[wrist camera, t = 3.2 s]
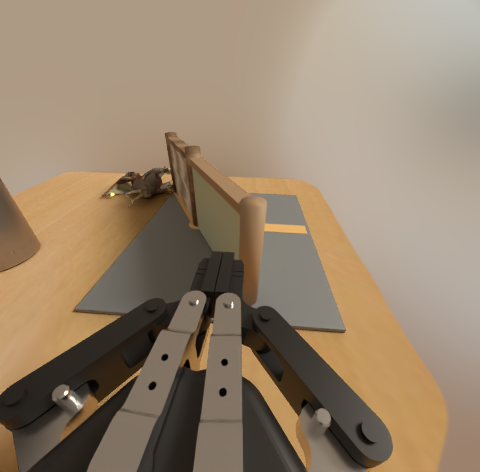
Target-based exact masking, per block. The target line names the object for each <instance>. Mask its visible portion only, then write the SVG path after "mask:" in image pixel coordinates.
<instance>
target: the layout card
mask: <svg viewBox="0 0 480 472" xmlns="http://www.w3.org/2000/svg"><path fill="white" fill-rule="evenodd" d="M249 194H250V195H251V196H257V197H261V198H264V199H265V200H266V201H267V210H266V219H265V229H264V238H263V248H262V257H261V267H260V276H259V286H258V296H257V301H256V303H255V304H253V305H251V307H253V308H256V309H257V308H258V307H260V306H269V307H272V308H274V309H275V310H276V311H277V312H278V313H279V314H280V315H281V316H282V317H283V318H284V319H285V320H286V321H287V322H288V323H289V324H290V325H291V326H292V328H293V329H305V330H318V331H331V332H344V333H345V331H346V329H345V326H344V323H343V321H342V318H341V315H340V313H339V310H338V307H337V304H336V302H335V299H334V296H333V294H332V291H331V288H330V285H329V283H328V280H327V277H326V275H325V272H324V269H323V267H322V264H321V261H320V258H319V256H318V253H317V250H316V248H315V245H314V242H313V239H312V237H311V234H310V231H309V229H308V226H307V223H306V220H305V218H304V215H303V212H302V210H301V207H300V204H299V202H298V199H297V196H296V195H278V194H258V193H249ZM211 254H212V250H211V248H210V246H209V245H208V243H207V241H206V240H205V238H204V236H203V235H202V233H201V231H200V230H199V228H198V227H196V226H194V225H193V218H192V216H191V214H190V213H189V211H188V209H187V208H186V206H185V204H184V203H183V201H182V199H181V198H180V196H179V195H178V193H175V192H174V191H173V193H172V195H171V196H170V197H169V198H168V199H167V201H166V202H165V203H164V204H163V205H162V206H161V208H160V209H159V210H158V211H157V212H156V214H155V215H154V216H153V217H152V218H151V219H150V221H149V222H148V223H147V224H146V225H145V227H144V228H143V229H142V230H141V231H140V232H139V234H138V235H137V236H136V237H135V238H134V240H133V241H132V242H131V243H130V244H129V245H128V247H127V248H126V249H125V250H124V251H123V253H122V254H121V255H120V256H119V257H118V258H117V260H116V261H115V262H114V263H113V264H112V266H111V267H110V268H109V269H108V270H107V271H106V273H105V274H104V275H103V276H102V277H101V279H100V280H99V281H98V282H97V283H96V284H95V286H94V287H93V288H92V289H91V290H90V292H89V293H88V294H87V295H86V296H85V297H84V299H83V300H82V301H81V302H80V303H79V305H78V306H77V307H76V308H75V310H76V311H77V312H88V313H101V314H113V315H125V314H126V313H128V312H130V311H131V310H133V309H134V308H136V307H138V306H139V305H141V304H142V303H144V302H146V301H147V300H150V299H153V298H161V299H163V300H164V301H165V302H166V303H171V302H176V301H179V300H181V299H182V297H183V296H184V295H185V294H186V293H188V292H189V291H190V288H191V285H192V282H193V280H194V277H195V274H196V271H197V268H198V265H199V263H200V262H201V261H202V260H203V259H204V258H210V257H211ZM210 322H214V318H211V321H210Z"/></svg>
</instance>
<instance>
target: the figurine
mask: <svg viewBox="0 0 480 472" xmlns="http://www.w3.org/2000/svg"><path fill="white" fill-rule="evenodd" d="M164 173H167V174H169V173H170V174H171V170H170V168H166V167H164V168H154V169H152V170H150V171H148V172H147V173H145V174H144V175H143V176H140V174H139V173H138V174H135V173H134V172H128V173H126V175H125V176H123V177H122V178H121V179H119V180H118V181H117V182H116V183H115V184H114V185H113V186H112V187H111V188H110V189H109V190H108V191H107V192H106V193H105V194H104V195H102V197H103V196H106V195H111V196H114V195H120V194H123V193H126V194H125V195H126V196H127V194H132V193H136V194H137V195H138V196H137V197H136V198H134V199H133V200H131V199H130V198H129V199H130V200H131V203H130V204H129V207H130V205H131V204H133V203H134V201H136V200H137V199H139V198H140V197H143V198H149V197H150V198H151V194H156V193H161V192H167V191H174V187H173V186H170V185H173V181H172V180H171V181H170V182H167V183H164V184H163V183H162V180H161V177H162V176H163V175H164ZM130 182H131V183H130ZM131 184H132V185H131ZM168 186H169V187H168ZM166 187H168V188H166ZM130 190H131V192H128V193H127V191H130ZM174 192H175V191H174ZM125 195H124V196H125ZM127 197H128V196H127Z"/></svg>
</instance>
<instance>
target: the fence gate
mask: <svg viewBox="0 0 480 472" xmlns="http://www.w3.org/2000/svg"><path fill="white" fill-rule="evenodd" d="M190 165H191V166H192V172H193V182H194V192H195V202H196V211H197V221H198V228H199V230H200V231H201V233H202V235H203V236H204V238H205V240H206V241H207V243H208V245H209V246H210V248H211V250H212V251H222V252H223V253H224V252H235V260H242V262H243V264H244V285H243V301H244V302H245V303H246V304H247V305H249V306H251V305H253V304H255V303H256V301H257V296H258V286H259V276H260V267H261V257H262V248H263V238H264V229H265V219H266V210H267V201H266V200H265V199H264V198H261V197H257V196H251V195H250V194H249V193H247V192H246V191H245V190H244V189H242V188H241V187H240V186H238V185H237V184H236V183H235V182H233V181H232V180H231V179H229V178H228V177H227V176H226V175H224V174H223V173H222V172H220V171H219V170H218V169H216V168H215V167H214V166H213V165H211V164H210V163H209V162H207V161H206V160H205V159H204V158H202V157H198V158H190Z"/></svg>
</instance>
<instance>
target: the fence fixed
mask: <svg viewBox="0 0 480 472" xmlns="http://www.w3.org/2000/svg"><path fill="white" fill-rule="evenodd" d="M165 137H166V143H167V150H168V156H169V162H170V169H171V175H172V181H173V187H174V191H175V193H178V195H179V196H180V198H181V199H182V201H183V203H184V204H185V206H186V208H187V209H188V211H189V213H190V214H191V216H192V218H193V225H194V226H196V227H198V221H197V211H196V202H195V192H194V182H193V172H192V166H191V165H190V158H198V157H201V153H200V147H199V146H189V145H187V144H186V143H185V142H183V141H182V140H181V139H179V138H178V137H177V135H176V133H173V132H172V133H171V132H169V133H165Z"/></svg>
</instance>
